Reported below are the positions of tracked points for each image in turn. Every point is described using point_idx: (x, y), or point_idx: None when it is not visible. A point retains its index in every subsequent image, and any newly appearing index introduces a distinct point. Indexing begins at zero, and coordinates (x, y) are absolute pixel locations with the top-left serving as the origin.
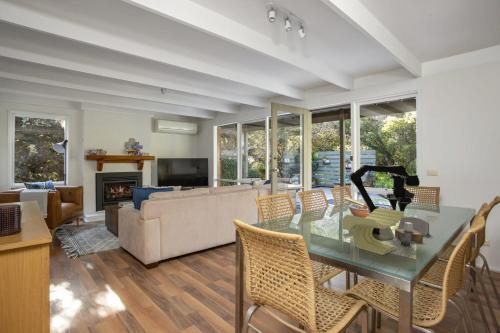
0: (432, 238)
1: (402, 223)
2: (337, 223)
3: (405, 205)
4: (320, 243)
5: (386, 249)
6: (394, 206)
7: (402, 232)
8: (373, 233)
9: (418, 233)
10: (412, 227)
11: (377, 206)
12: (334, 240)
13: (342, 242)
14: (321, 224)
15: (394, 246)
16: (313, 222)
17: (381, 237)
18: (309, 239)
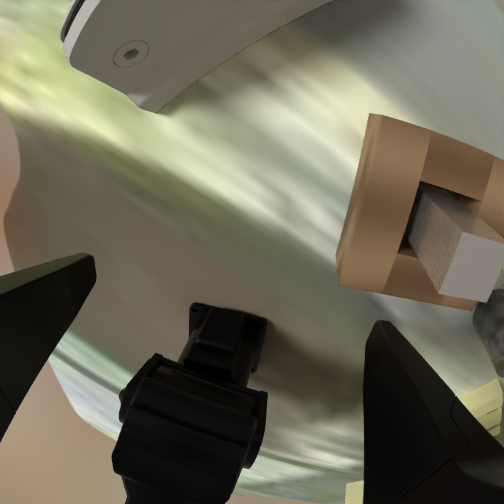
0: (433, 5)
1: (125, 64)
2: (71, 370)
3: (490, 470)
4: (340, 496)
5: (500, 425)
6: (43, 312)
7: (499, 361)
8: (260, 352)
9: (501, 182)
10: (490, 230)
11: (151, 488)
12: (325, 478)
13: (353, 472)
14: (108, 422)
15: (502, 395)
16: (88, 422)
17: (342, 351)
18: (298, 500)
